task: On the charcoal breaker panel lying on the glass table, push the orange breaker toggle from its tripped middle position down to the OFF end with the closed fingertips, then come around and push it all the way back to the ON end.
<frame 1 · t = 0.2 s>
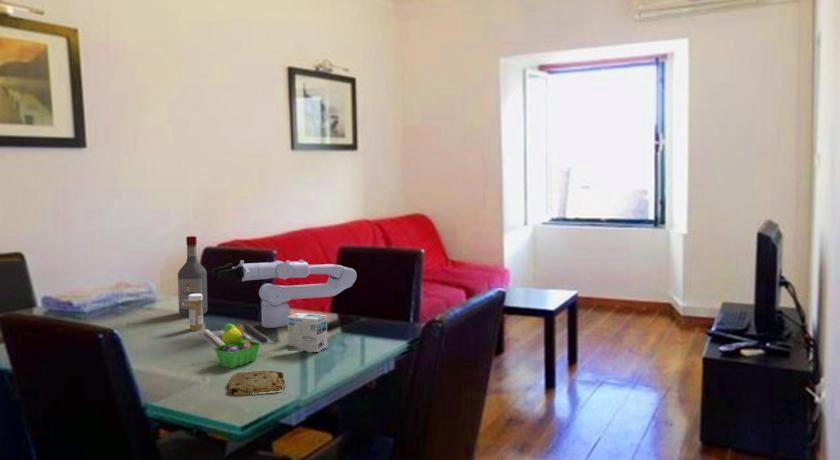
hand: (215, 273, 206), 21 cm above the table, tool horizontal, fingers open, 7 cm apart
breaker toggle: (235, 331, 202), point 4 cm above the table, slide at 5.0 cm
pastry: (258, 387, 163), on the table
fruit basket: (236, 363, 182), on the table
breaker panel: (235, 342, 202), on the table
dark grey rounded rod: (255, 335, 206), resting on breaker panel
white rounded rod: (215, 340, 199), resting on breaker panel
sprinkles bottle: (196, 333, 213), on the table
liquor: (193, 314, 241), on the table
light bulb box: (307, 349, 196), on the table
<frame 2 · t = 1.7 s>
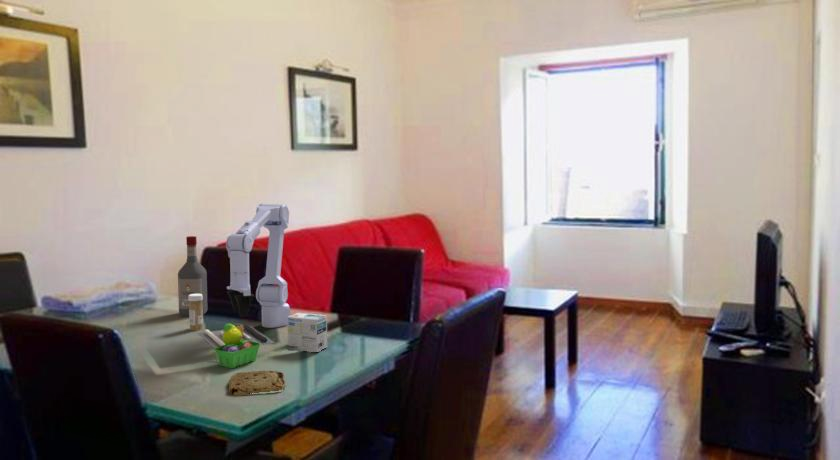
hand: (240, 314, 196), 10 cm above the table, tool pointing down, fingers open, 6 cm apart
nothing on the table moved.
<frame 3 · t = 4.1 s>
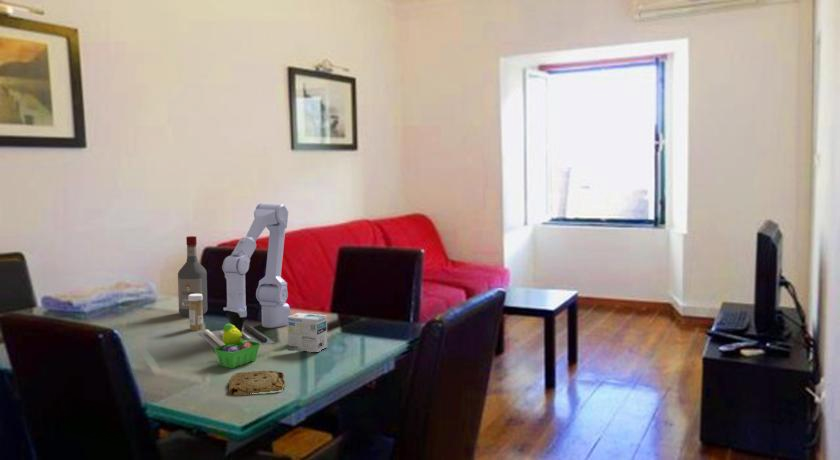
hand: (237, 334, 201), 3 cm above the table, tool pointing down, fingers closed
breaker toggle: (234, 330, 203), point 4 cm above the table, slide at 3.7 cm, touching gripper
everything else where it was.
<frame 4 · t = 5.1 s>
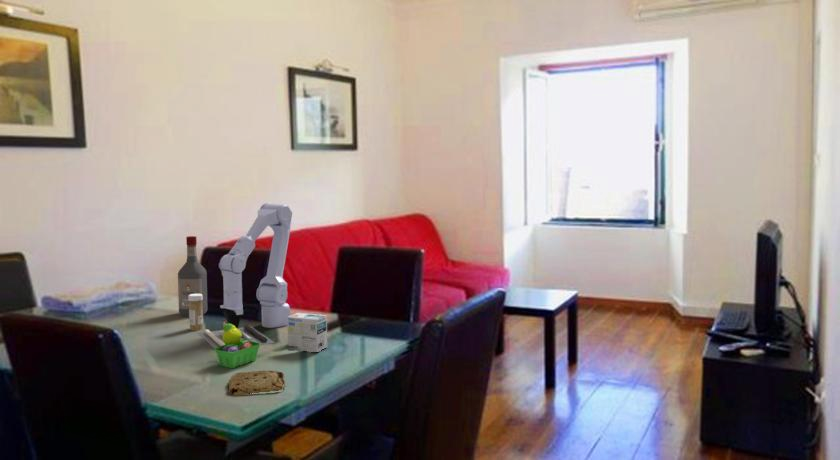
hand: (233, 332, 204), 3 cm above the table, tool pointing down, fingers closed
breaker toggle: (230, 328, 206), point 4 cm above the table, slide at 0.1 cm, touching gripper
everything else where it was.
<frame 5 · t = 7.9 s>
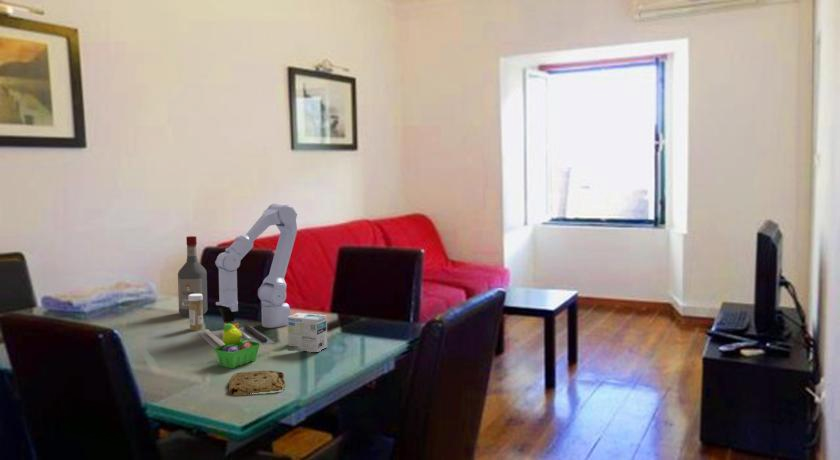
hand: (228, 328, 208), 3 cm above the table, tool pointing down, fingers closed
breaker toggle: (231, 328, 206), point 4 cm above the table, slide at 0.7 cm, touching gripper
everything else where it was.
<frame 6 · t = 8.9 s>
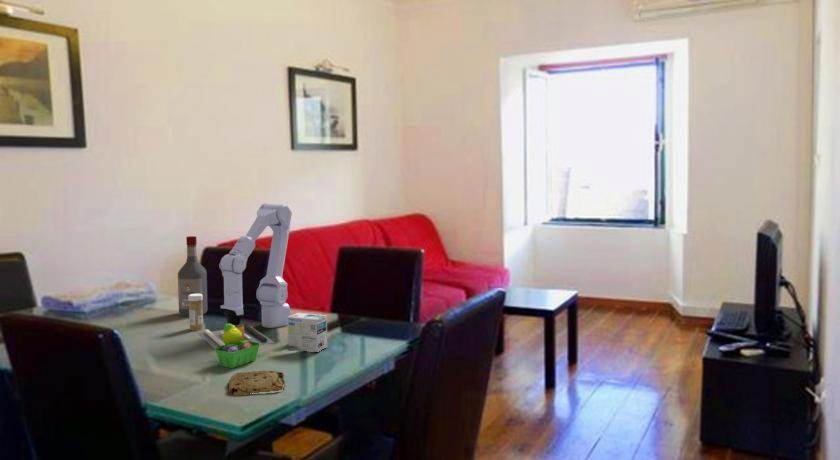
hand: (234, 332, 203), 3 cm above the table, tool pointing down, fingers closed
breaker toggle: (236, 332, 201), point 4 cm above the table, slide at 6.5 cm, touching gripper
everything else where it was.
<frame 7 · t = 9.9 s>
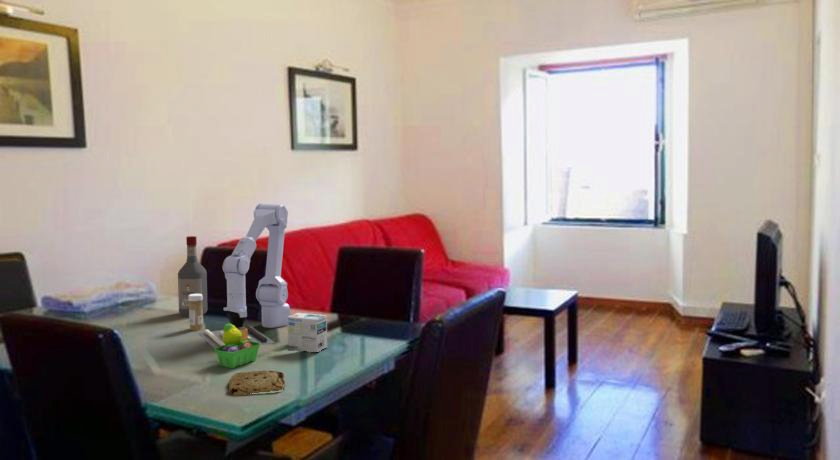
hand: (237, 334, 200), 3 cm above the table, tool pointing down, fingers closed
breaker toggle: (239, 334, 198), point 4 cm above the table, slide at 9.9 cm, touching gripper
everything else where it was.
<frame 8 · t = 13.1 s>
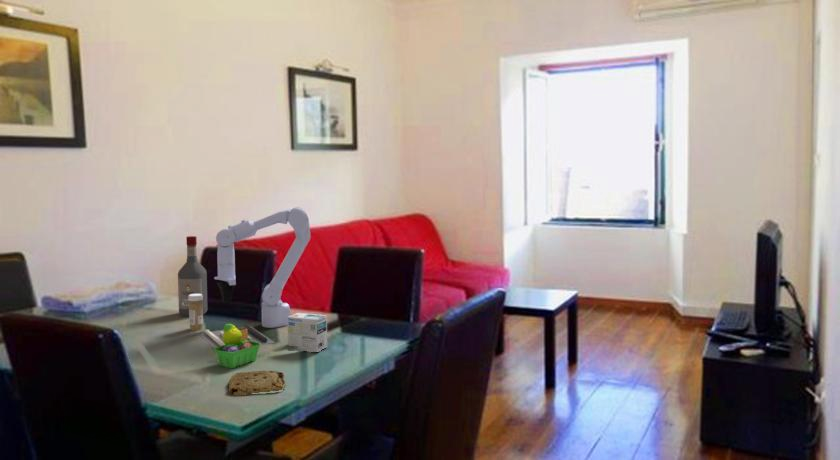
hand: (227, 302, 216), 10 cm above the table, tool pointing down, fingers closed
breaker toggle: (239, 334, 198), point 4 cm above the table, slide at 9.9 cm
everything else where it was.
at the end: breaker toggle slide at 9.9 cm; breaker toggle touching nothing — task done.
